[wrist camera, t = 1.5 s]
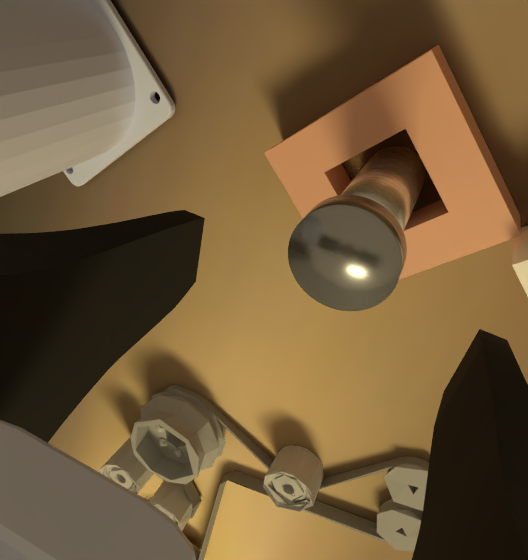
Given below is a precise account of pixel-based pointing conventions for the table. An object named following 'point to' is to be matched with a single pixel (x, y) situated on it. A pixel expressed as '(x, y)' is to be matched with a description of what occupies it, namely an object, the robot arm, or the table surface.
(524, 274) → the tray
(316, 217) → the pin
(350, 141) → the block
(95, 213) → the table surface
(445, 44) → the table surface
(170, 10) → the table surface
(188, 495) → the pulley system
